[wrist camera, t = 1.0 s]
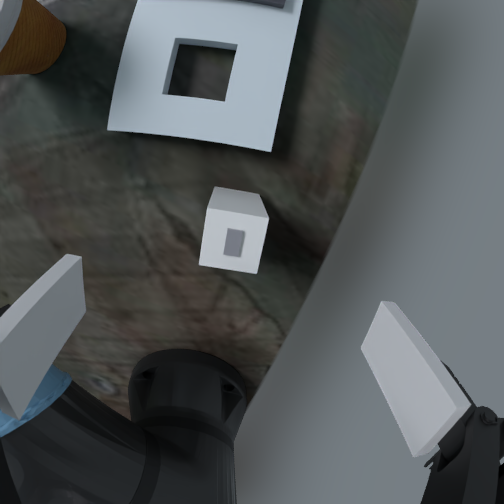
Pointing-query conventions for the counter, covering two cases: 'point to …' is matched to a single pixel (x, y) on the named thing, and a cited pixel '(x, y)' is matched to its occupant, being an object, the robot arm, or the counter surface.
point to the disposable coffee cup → (28, 37)
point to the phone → (268, 2)
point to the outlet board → (211, 35)
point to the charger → (234, 230)
